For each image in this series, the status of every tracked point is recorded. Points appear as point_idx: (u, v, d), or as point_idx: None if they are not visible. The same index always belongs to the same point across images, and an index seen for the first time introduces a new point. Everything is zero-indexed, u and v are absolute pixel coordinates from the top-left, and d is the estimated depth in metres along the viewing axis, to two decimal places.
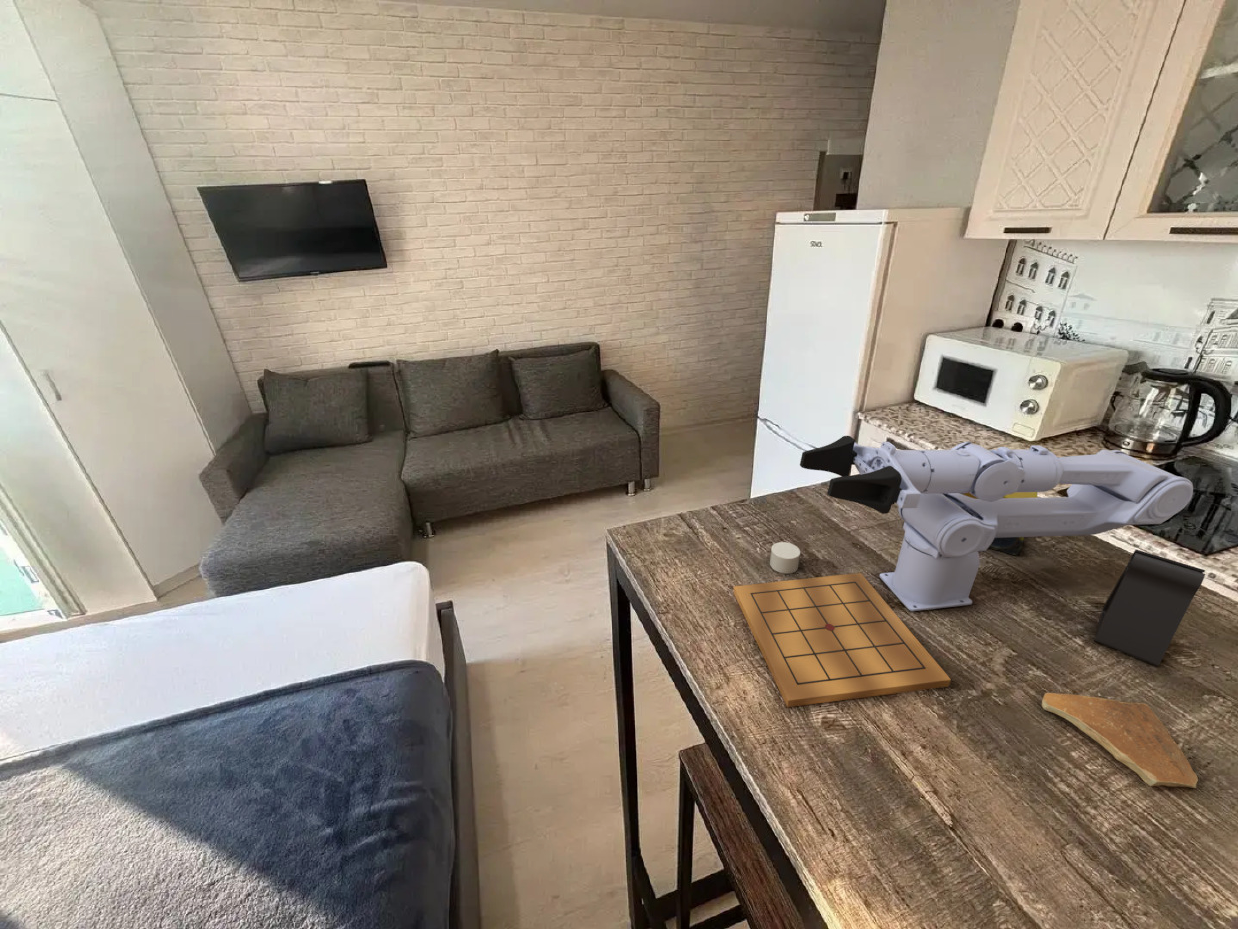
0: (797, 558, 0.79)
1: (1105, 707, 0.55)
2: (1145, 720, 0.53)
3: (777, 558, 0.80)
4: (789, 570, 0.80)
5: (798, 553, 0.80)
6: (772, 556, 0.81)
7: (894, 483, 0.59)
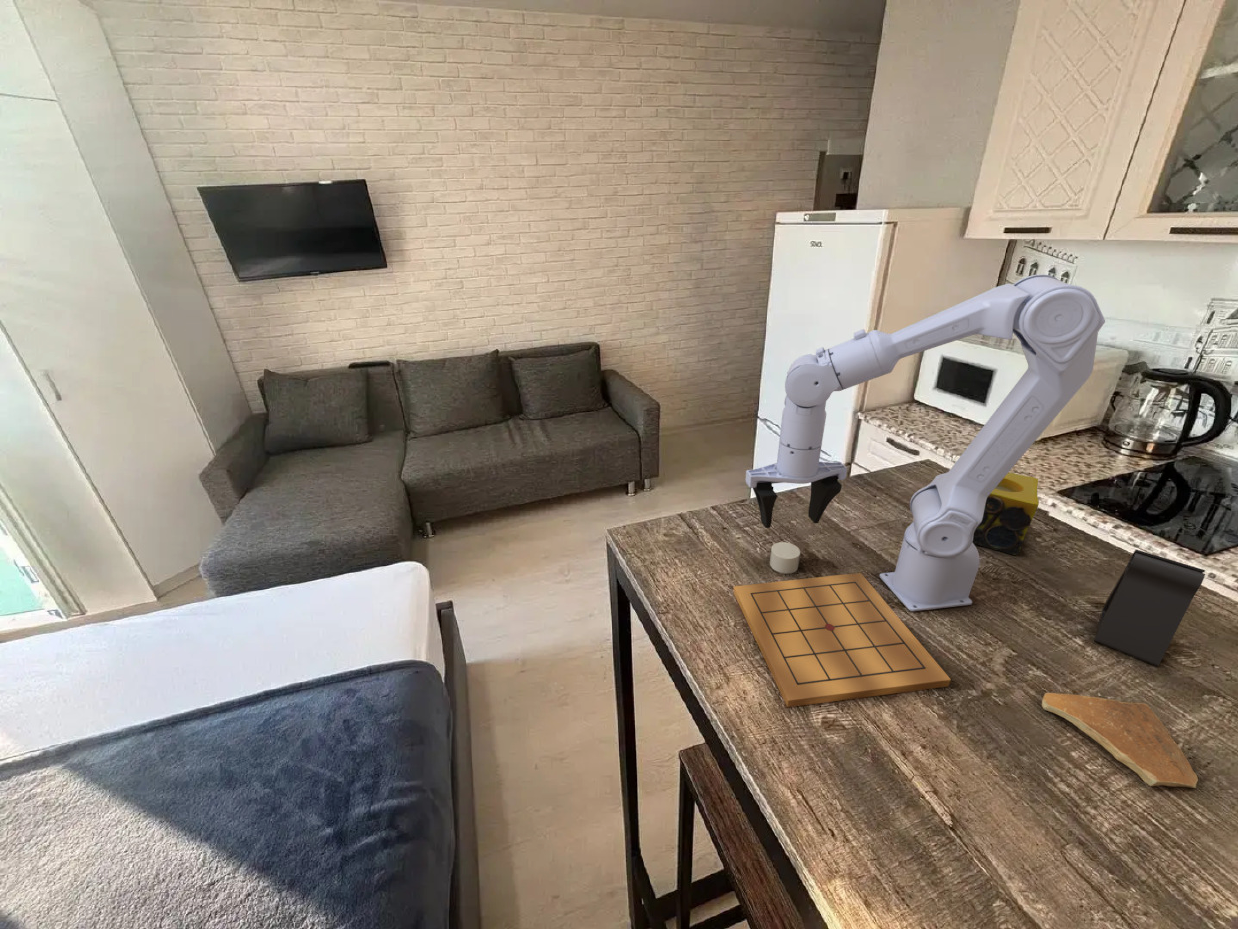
0: (797, 558, 0.79)
1: (1105, 707, 0.55)
2: (1145, 720, 0.53)
3: (777, 558, 0.80)
4: (789, 570, 0.80)
5: (798, 553, 0.80)
6: (772, 556, 0.81)
7: None
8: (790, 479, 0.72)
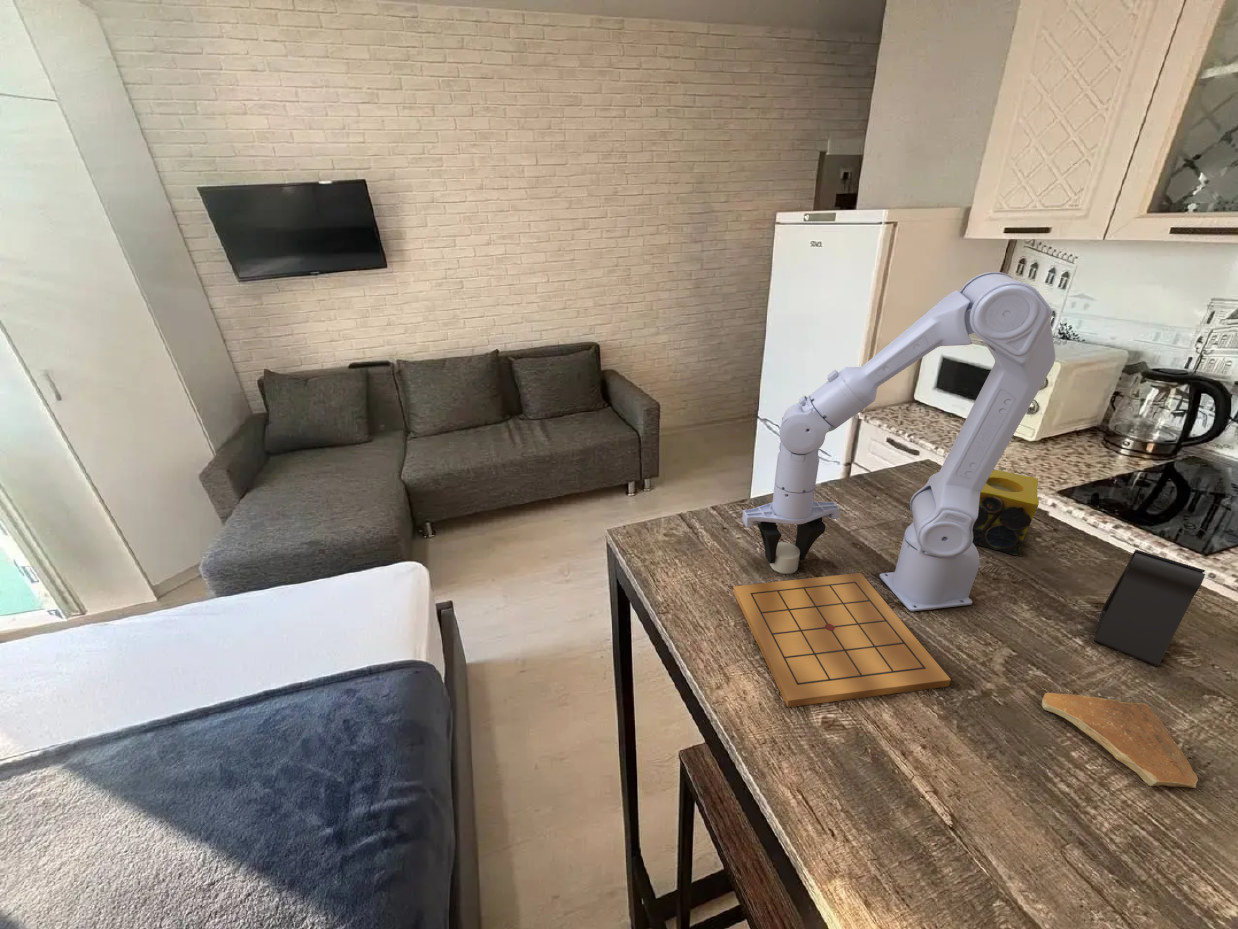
0: (797, 558, 0.79)
1: (1105, 707, 0.55)
2: (1145, 720, 0.53)
3: (777, 558, 0.80)
4: (789, 570, 0.80)
5: (798, 553, 0.80)
6: None
7: None
8: (785, 520, 0.75)
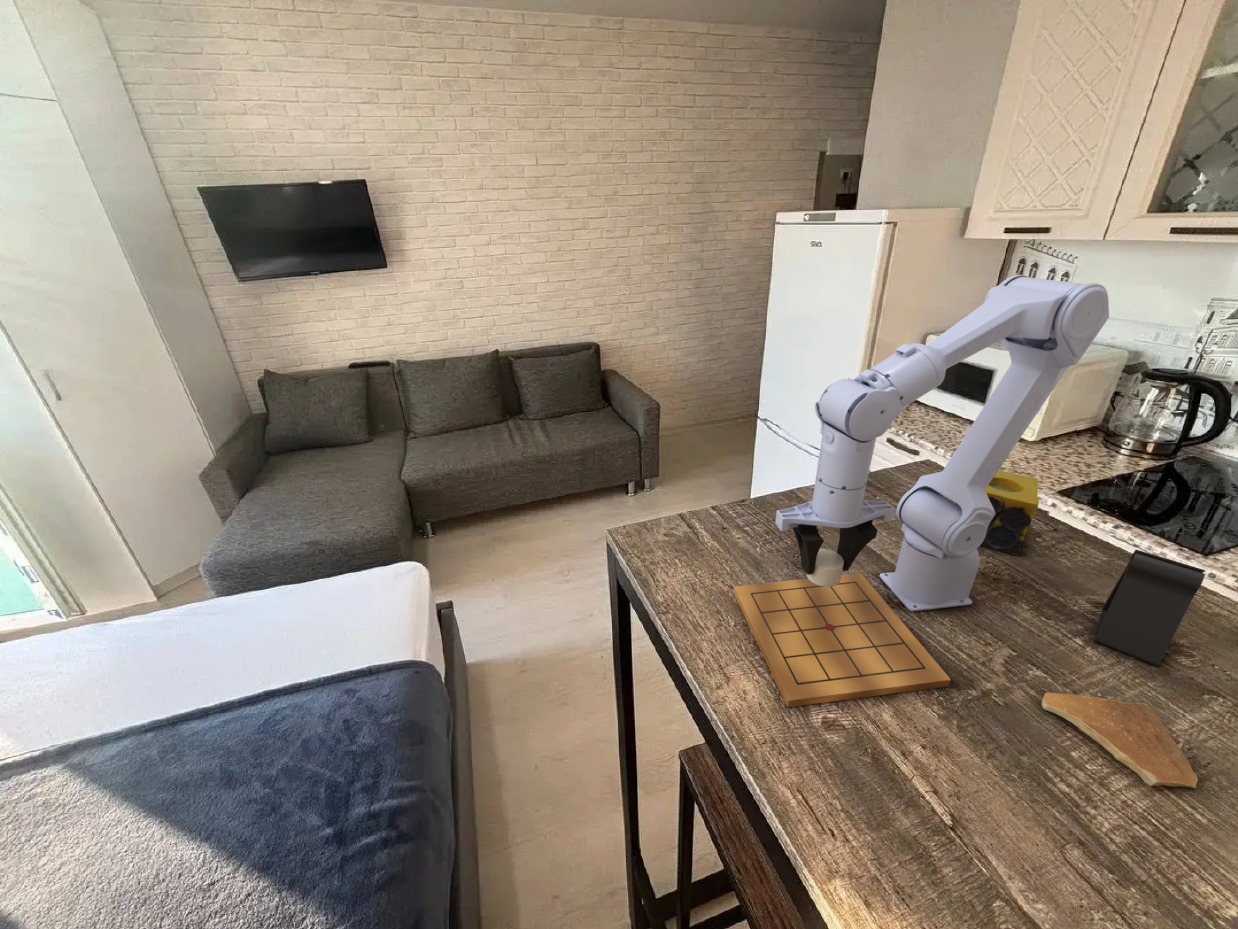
0: (840, 568, 0.66)
1: (1105, 707, 0.55)
2: (1145, 720, 0.53)
3: (816, 568, 0.66)
4: (831, 583, 0.66)
5: (841, 562, 0.66)
6: None
7: None
8: (829, 523, 0.62)
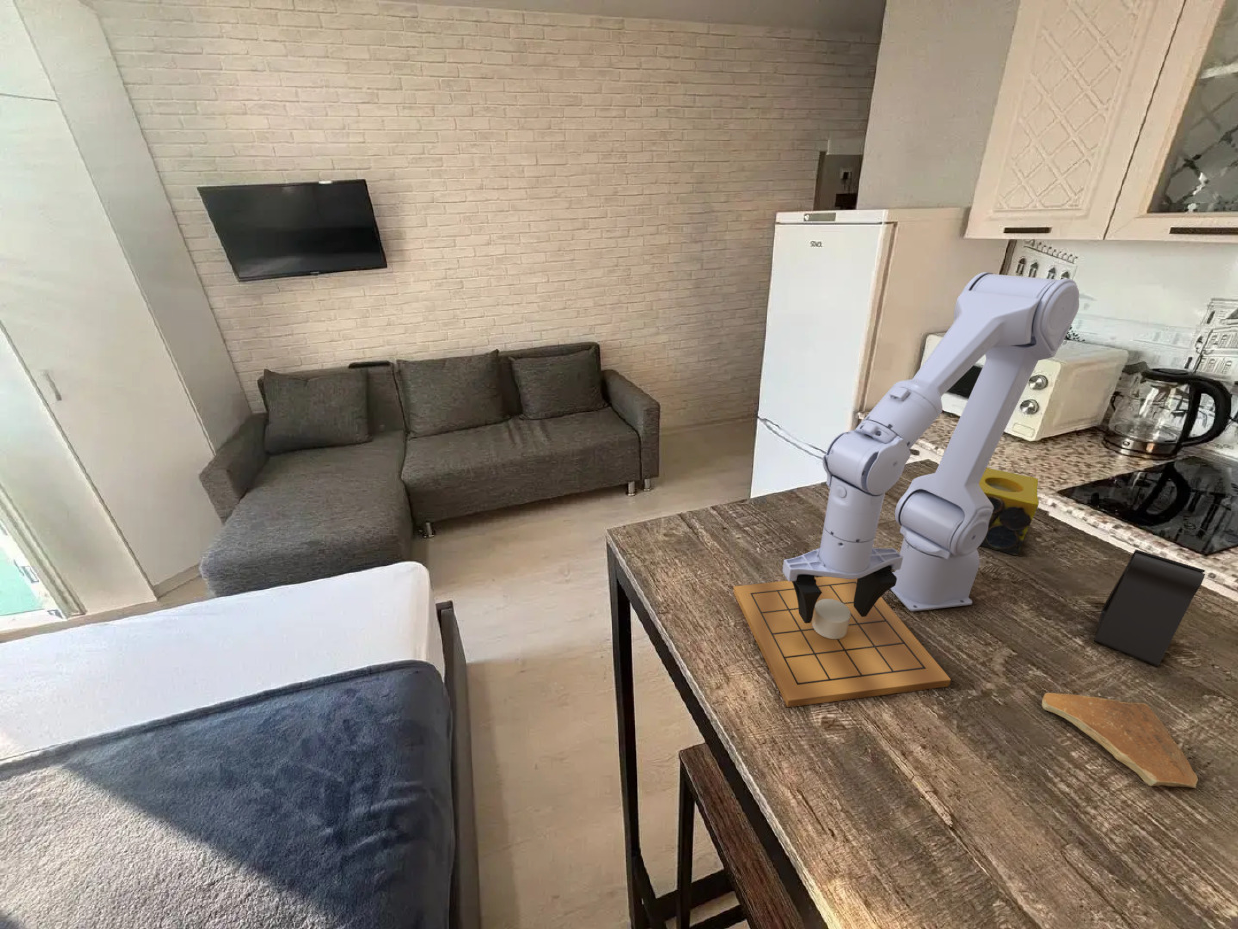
0: (847, 621, 0.65)
1: (1105, 707, 0.55)
2: (1145, 720, 0.53)
3: (823, 621, 0.66)
4: (837, 635, 0.66)
5: (848, 615, 0.66)
6: (816, 617, 0.67)
7: None
8: (837, 574, 0.61)
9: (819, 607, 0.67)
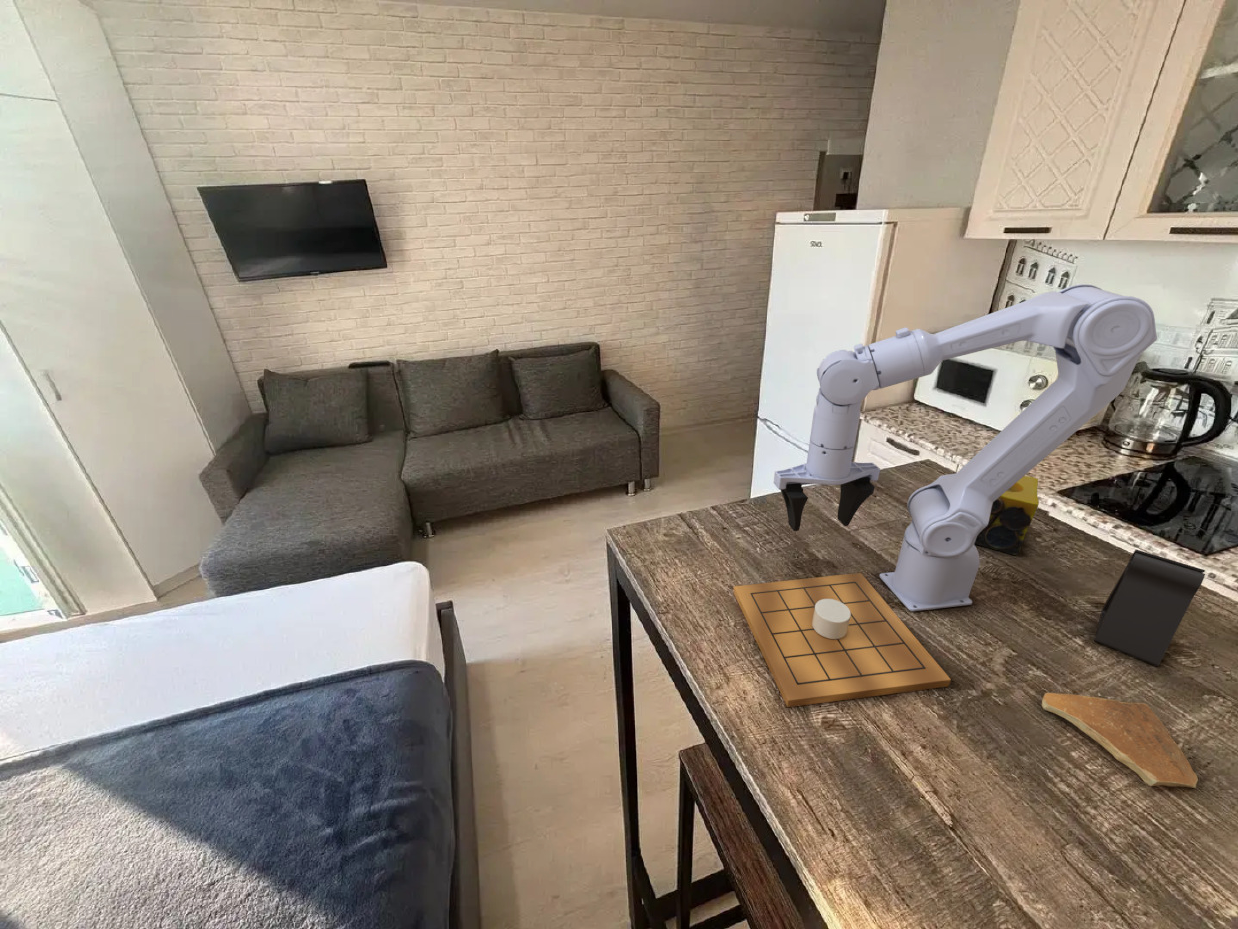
0: (847, 621, 0.65)
1: (1105, 707, 0.55)
2: (1145, 720, 0.53)
3: (823, 621, 0.66)
4: (837, 635, 0.66)
5: (848, 615, 0.66)
6: (816, 617, 0.67)
7: None
8: (821, 480, 0.69)
9: (819, 607, 0.67)
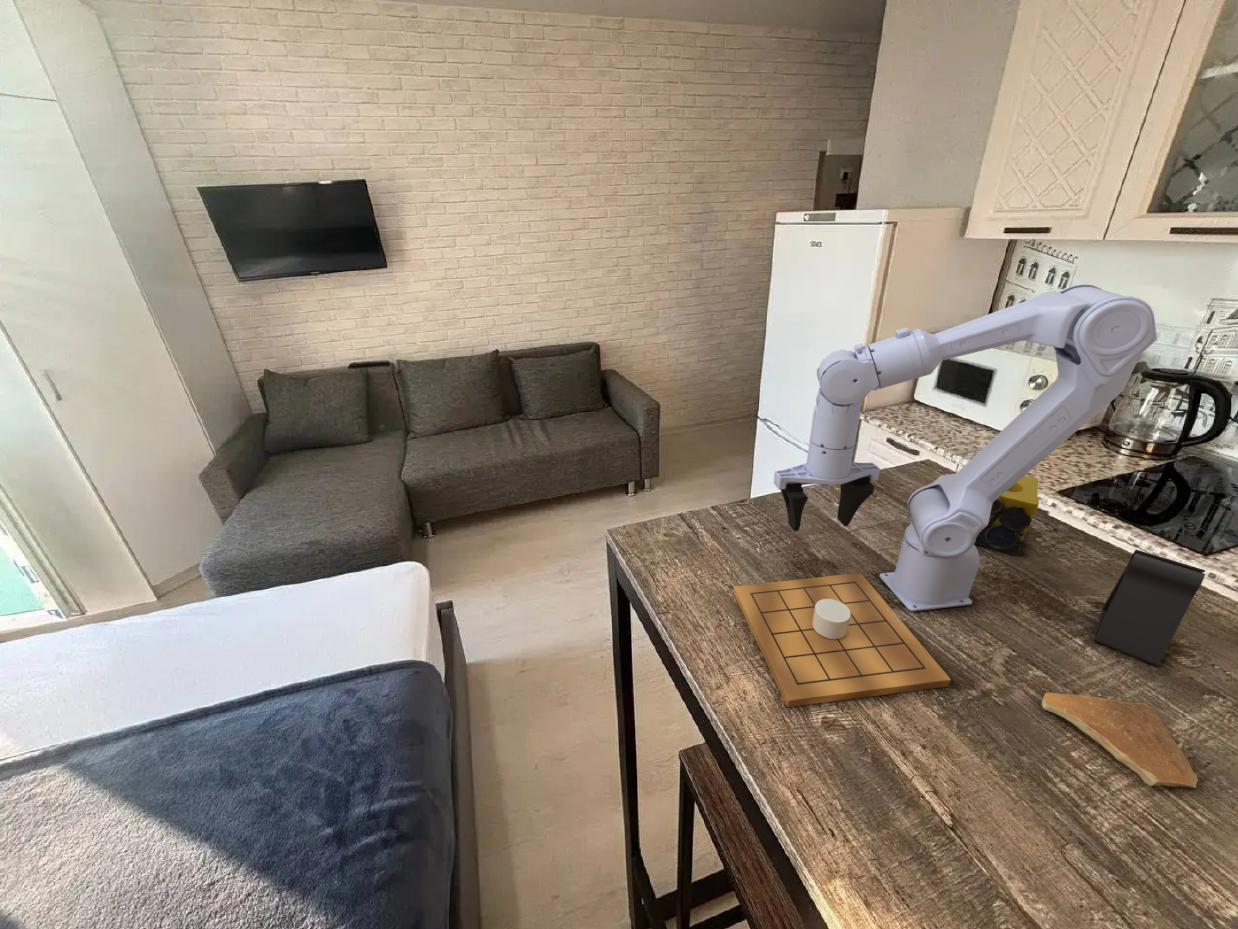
0: (847, 621, 0.65)
1: (1105, 707, 0.55)
2: (1145, 720, 0.53)
3: (823, 621, 0.66)
4: (837, 635, 0.66)
5: (848, 615, 0.66)
6: (816, 617, 0.67)
7: None
8: (821, 480, 0.69)
9: (819, 607, 0.67)
